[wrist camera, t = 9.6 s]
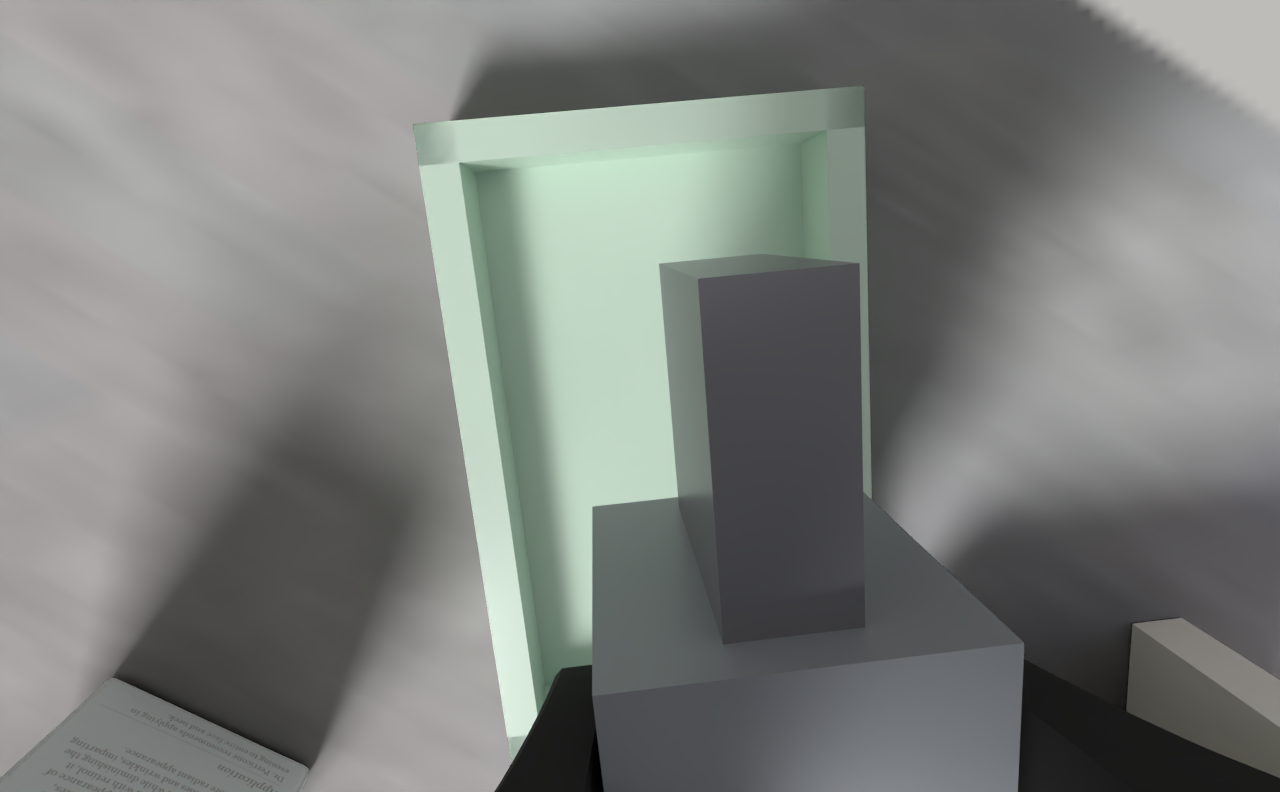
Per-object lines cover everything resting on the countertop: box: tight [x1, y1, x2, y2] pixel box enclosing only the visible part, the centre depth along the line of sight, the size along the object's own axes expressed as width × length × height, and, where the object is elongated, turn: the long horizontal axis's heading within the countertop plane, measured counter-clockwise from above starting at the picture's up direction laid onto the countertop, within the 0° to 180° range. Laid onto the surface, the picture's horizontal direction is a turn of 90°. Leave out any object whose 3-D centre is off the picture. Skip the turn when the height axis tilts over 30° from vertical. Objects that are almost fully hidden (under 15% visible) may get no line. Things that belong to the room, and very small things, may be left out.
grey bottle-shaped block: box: [592, 254, 1024, 792], centre depth 10 cm, size 4×11×5 cm, turn 5°
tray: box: [413, 86, 872, 764], centre depth 17 cm, size 9×15×2 cm, turn 5°
